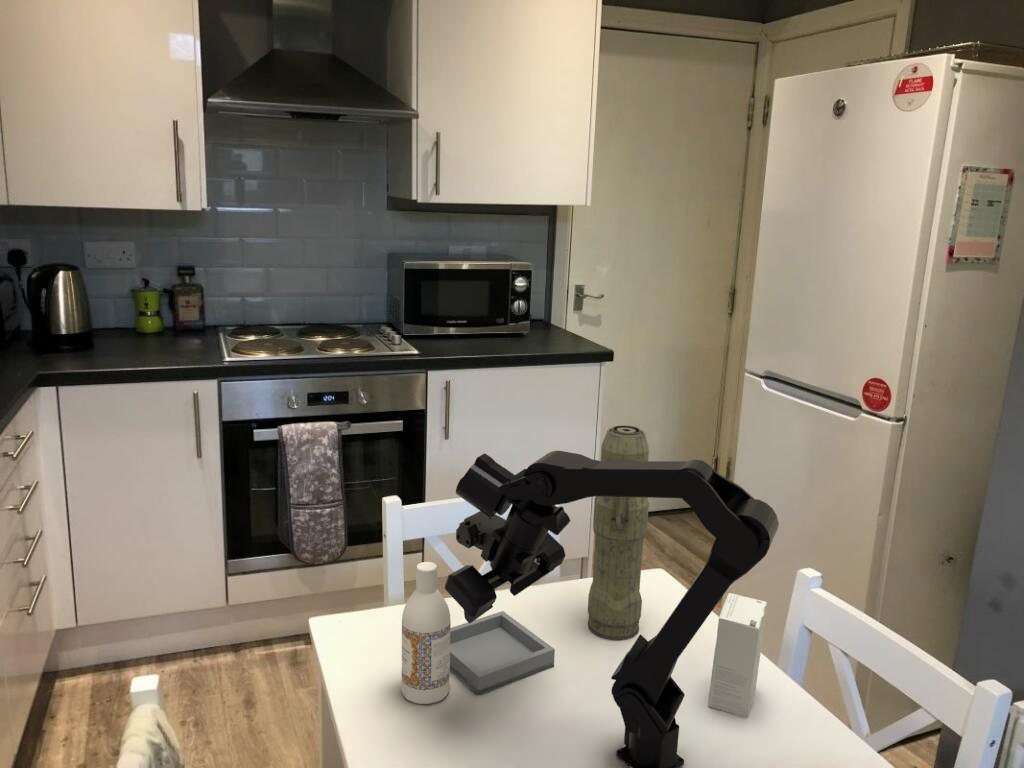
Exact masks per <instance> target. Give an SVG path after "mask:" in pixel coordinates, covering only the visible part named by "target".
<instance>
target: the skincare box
mask: <svg viewBox="0 0 1024 768" xmlns="http://www.w3.org/2000/svg"><path fill="white" fill-rule="evenodd" d="M767 608H768V601H764V600H760V599H757V598H753V597H752V598H751V597H747V596H743V595H740V594H736V593H731V592H728V594H727V596H726V599H725V600H724V604H723V605H722V608H721V611H720V613H719V617H718V623H717V632H716V640H715V641H716V642H715V648H714V652H713V653H714V655H713V661H712V662H713V663H712V669H711V677H710V685H709V686H710V687H709V692H708V702H707V706H708V707H709V708H713V709H715V710H719V711H723V712H726V713H729V714H732V715H736V716H740V717H744V718H749V714H750V713H751V712H750V711H751V708H752V705H753V701H754V696H755V690H756V689H757V681H758V676H759V675H758V674H759V669H760V668H759V666H760V661H761V653H762V645H763V640H764V639H763V637H764V632H765V631H764V630H765V623H766V617H767V610H768V609H767Z"/></svg>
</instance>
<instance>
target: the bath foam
mask: <svg viewBox="0 0 1024 768" xmlns="http://www.w3.org/2000/svg"><path fill="white" fill-rule="evenodd" d="M415 570H416V572H415V574H416V575H415V577H416V582H415V583H416V584H415V585H416V588H415V590H414V591H413V592H412V594H411V595H410V597H409V598H408V600H407V601H406V603H405V606H404V608H403V611H402V618H401V692H402V694H403V697H404V698H405V699H406V700H408V701H410V702H411V703H415V704H419V705H431V704H435V703H438V702H440V701H442V700H443V699H444V698H446V696H447V695H448V693H449V691H450V677H451V675H450V673H451V670H450V628H452V627H451V612H450V608H449V606H448V603H447V601H446V599H445V598H444V596H443V594H441V592H440V591H439V589H438V565H437V564H436V563H435V562H432V561H424V562H423V561H421V562H420V563H418V564H417V565H416V569H415Z"/></svg>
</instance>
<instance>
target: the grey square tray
mask: <svg viewBox="0 0 1024 768" xmlns="http://www.w3.org/2000/svg"><path fill="white" fill-rule="evenodd" d="M555 650H556V648H554V647H553V646H551V645H550V644H548V642H546V641H545V640H543V639H542V638H541V637H539V636H537V635H536V634H535V633H534V632H532V631H531V630H530V629H528V628H527V627H526V626H524V625H523V624H521V623H520V622H518V621H517V620H516V619H514V618H513V617H512V616H511V615H509V614H508V613H507V612H505V611H504V610H501V611H499V612H496V613H493V614H489V615H487V616H483V617H479V618H477V619H476V620H475V621H473V622H472V623H468V622H467V621H466V622H464V623H462V624H459V625H455V626H452V627H450V672H453V674H454V675H456V676H457V677H458V678H459V680H461V681H462V682H463V683H464V684H466V686H468V688H469V689H471V690H472V691H473V692H474V693H476V695H477V696H481V695H484V694H486V693H488V692H491V691H493V690H496V689H500V688H501V687H504V686H507V685H510V684H512V683H514V682H517V681H520V680H523V679H525V678H528V677H530V676H533V675H535V674H538V673H541V672H543V671H545V670H548V669H551V668H554V667H555V657H556V656H555V652H556V651H555Z"/></svg>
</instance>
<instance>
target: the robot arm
mask: <svg viewBox="0 0 1024 768" xmlns="http://www.w3.org/2000/svg"><path fill="white" fill-rule="evenodd" d="M455 494H456V495H457V496H458V497H459V498H461V499H462V500H464V501H465V502H467V503H468V504H470V505H471V506H473V507H474V508H475V509H477V510H478V511H477V512H476V513H473V514H472V515H469V516H467V517H465V518H464V519H463V521H462V522H460V523H459V524H458V525H459V526H458V527H457V528H456V529H455V530H456V531H455V532H456V533H455V540H456V541H457V543H458V544H460V545H462V546H463V547H465V548H466V549H470V548H472V547H475V548H476V549H479V550H481V553H480V557H481V559H483V560H484V561H485V562H486V563H487V562H489V563H490V564H489V566H490V568H491V570H489V571H488V572H486V573H484V574H481V573H480V571H479V570H478V569H476V567H475V566H474V565H471V564H470V565H468V564H467V565H465V566H463V567H461V568H459V569H457V570H455V571H454V572H452V573H450V574H448V575H447V579H446V581H445V584H444V590H445V591H446V592H447V593H448V594H449V595H450V596H451V598H453V600H454V601H455V602H456V603H457V604H458V605H459V606H460V607H461V608H462V609H463V614H464V619H465V621H466V623H467V622H468V623H472V622H473V621H475V620H477V619H480V618H481V616H483V615H484V614H485V613H487V612H489V611H490V610H491V609H492V608H493V607H494V604H495V602H496V600H497V593H496V590H497V589H498V588H500V587H502V586H504V585H505V584H507V583H508V582H509V584H510V589H509V593H510V594H511V595H513V596H514V597H515V596H517V595H519V594H520V593H521V592H523V591H524V590H526V589H528V588H529V587H530V586H532V585H534V584H535V583H536V582H538V581H539V580H541V579H543V578H544V577H545V576H547V575H549V574H550V573H551V572H552V571H554V570H555V569H556V568H558V567H559V566H561V565H562V564H563V561H564V559H565V557H566V552H565V549H564V546H563V545H562V544H561V543H559V541H558V540H556V538H554V537H553V536H552V535H551V534H550V533H552V534H553V535H555V536H558V535H559V534H560V533H562V531H563V530H564V529H565V528H566V527H567V526H568V525H569V524H570V523H571V519H570V516H569V514H568V513H567V512H566V511H565V509H564V507H563V506H557V505H564V504H565V505H566V504H570V503H572V502H576V501H580V500H583V499H587V498H593V497H594V498H595V496H605V497H647V499H648V498H653V499H655V498H656V499H658V498H659V499H660V498H661V499H681V500H682V501H684V502H685V503H686V504H687V505H688V506H689V507H690V508H691V509H692V511H693V513H694V514H695V515H696V517H697V518H698V519H699V521H700V522H701V524H702V525H703V526H704V527H703V528H705V529H706V531H708V532H709V533H710V534H711V535H712V536H713V537H714V538H715V540H714V542H713V545H712V546H711V549H710V552H709V555H708V557H707V561H706V563H705V565H704V566H703V568H702V569H701V570H700V572H699V573H698V575H697V576H696V577H695V579H694V580H693V582H692V583H691V584H690V587H689V588H688V589H687V591H686V592H685V594H684V595H683V597H682V598H681V599H680V601H679V602H678V604H677V606H676V607H675V608H674V610H673V611H672V613H670V615H669V617H668V618H667V620H666V622H664V624H663V626H662V627H661V628H660V630H659V631H658V633H657V634H656V635H655V636H653V637H652V638H651V639H650V640H647V639H646V638H645V636H644V635H642V634H639V636H638V637H637V639H636V640H635V642H633V645H632V647H631V648H630V649H629V651H628V652H626V654H625V655H624V657H623V658H622V660H621V662H620V663H619V664H618V666H617V667H616V669H615V671H614V672H613V674H612V675H611V677H610V679H611V680H613V681H614V680H615V681H614V682H613V684H612V686H611V695H612V697H613V701H614V702H615V704H616V706H617V707H618V708H619V711H620V714H621V718H622V720H623V725H624V737H623V738H624V739H623V744H624V745H625V746H623V747H621V748H619V749H617V750H616V754H615V755H616V756H617V757H618V758H619V759H620V760H621V761H622V762H624V763H625V764H626V765H628V767H630V768H680V767H683V766H684V765H685V759H684V758H683V757H681V756H680V755H678V748H679V747H678V746H679V735H680V733H679V732H680V725H679V724H677V722H676V721H677V720H676V715H677V713H678V711H679V708H680V707H681V704H682V702H683V701H684V698H685V695H686V694H685V693H684V691H683V690H682V689H681V688H680V686H679V685H678V684H677V682H676V681H675V680H674V679H673V677H672V673H673V672H674V669H675V667H676V664H677V662H678V660H679V658H680V656H681V655H682V654H683V652H684V651H685V649H686V648H687V646H688V645H689V644H690V642H691V640H693V638H694V637H695V636H696V634H697V632H698V631H699V630H700V629H701V627H702V626H703V624H704V623H705V621H706V620H707V618H708V617H709V616H710V615H711V614H712V612H713V611H714V609H715V608H716V606H717V604H719V602H720V600H721V599H722V598H723V596H724V595H725V594H726V592H727V591H728V589H730V586H731V585H733V584H734V583H735V582H736V581H738V580H739V579H741V578H742V577H743V576H745V575H747V574H748V573H749V572H750V571H751V570H752V569H753V568H754V567H756V565H758V563H760V561H762V560H763V559H764V558H765V557H766V555H767V554H768V553H769V552H768V551H769V549H770V548H771V546H772V543H773V541H774V538H775V537H776V534H777V532H778V530H779V525H780V524H779V519H778V515H777V513H776V511H775V510H774V509H773V507H772V506H771V505H769V504H768V503H767V502H765V501H763V500H761V499H755V498H754V497H753V496H752V495H751V494H750V493H749V492H748V491H746V490H745V489H744V488H743V487H741V486H740V485H739V484H738V483H735V482H733V481H732V480H730V479H728V478H726V477H725V476H724V475H722V474H720V473H719V472H718V471H716V470H715V469H714V468H713V467H712V466H711V465H709V463H707V462H706V461H704V460H702V459H690V460H686V461H684V460H682V461H680V460H679V461H678V460H677V461H675V460H674V461H672V460H671V461H668V460H667V461H660V460H659V461H658V460H657V461H656V460H655V461H653V460H651V461H649V460H648V461H601V460H598V459H593V458H590V457H587V456H585V455H583V454H581V453H576V452H570V451H563V450H554V451H553V450H552V451H549V452H548V453H546V454H545V455H543V456H541V457H540V458H539V459H537V460H536V461H534V462H533V463H531V464H530V465H529V466H528V467H527V468H523V469H522V470H520V471H519V472H518V473H516V474H514V473H513V472H512V471H510V470H508V469H507V468H505V467H504V466H502V465H501V464H499V463H498V462H497V461H495V460H494V458H492V457H491V456H490V455H488V454H487V453H482V454H481V455H479V456H478V457H476V459H475V461H474V463H472V465H471V466H470V467H469V469H468V470H467V471H466V472H465V473H464V475H463V476H462V477H461V478H460V479H459V481H458V483H457V485H456V488H455ZM510 507H511V508H510ZM509 508H510V510H509ZM508 510H509V512H508V515H507V517H506V519H505V518H503V517H501V516H503V515H504V514H505V513H506V512H507V511H508ZM497 514H498V515H497ZM549 531H550V533H549Z"/></svg>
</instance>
